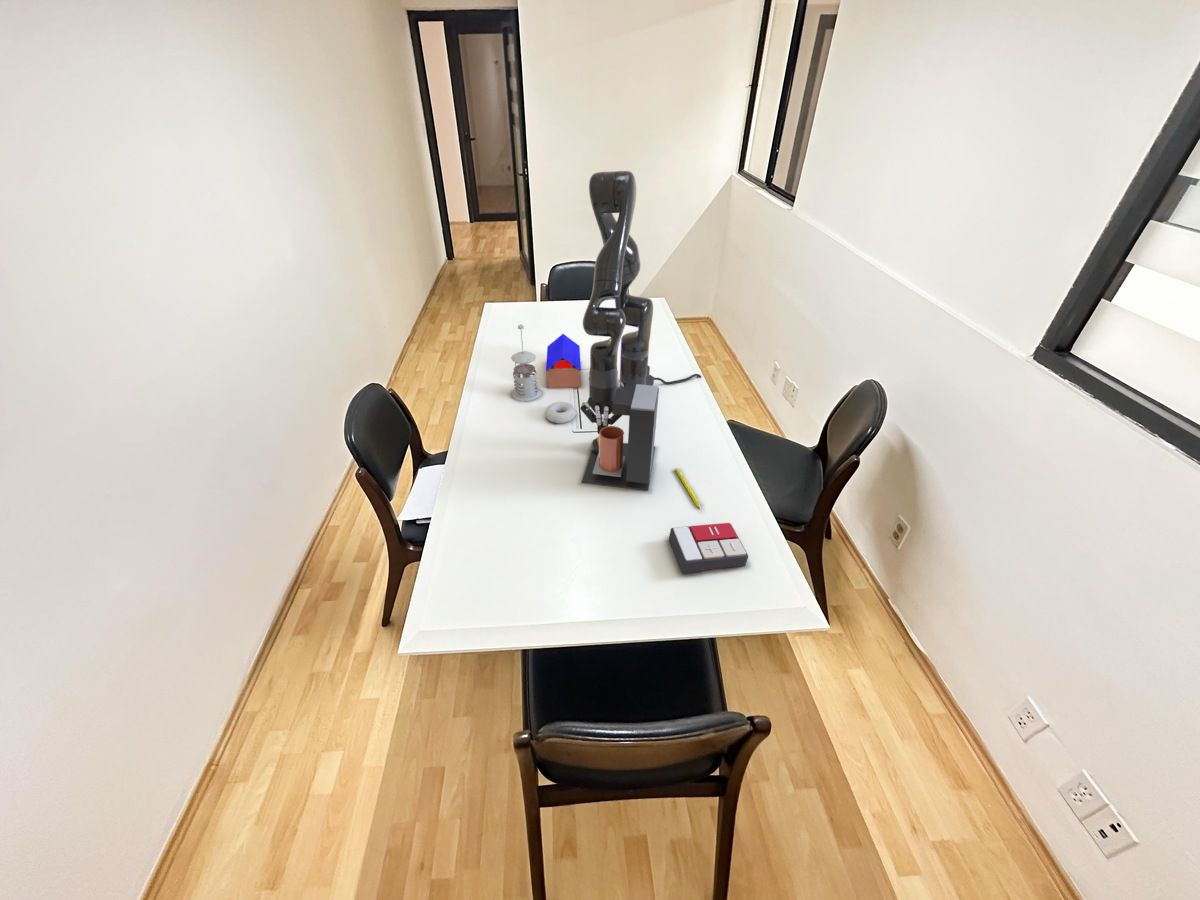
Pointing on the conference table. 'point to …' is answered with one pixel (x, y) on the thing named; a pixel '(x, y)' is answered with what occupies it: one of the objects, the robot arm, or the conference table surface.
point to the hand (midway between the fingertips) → (602, 434)
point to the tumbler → (611, 448)
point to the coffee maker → (636, 431)
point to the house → (563, 363)
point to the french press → (524, 375)
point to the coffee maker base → (610, 480)
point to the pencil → (688, 488)
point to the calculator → (707, 547)
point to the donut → (563, 407)
